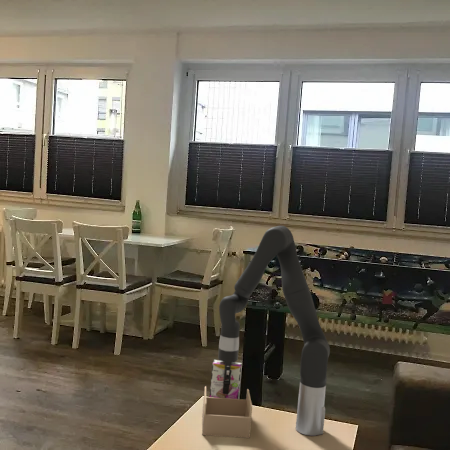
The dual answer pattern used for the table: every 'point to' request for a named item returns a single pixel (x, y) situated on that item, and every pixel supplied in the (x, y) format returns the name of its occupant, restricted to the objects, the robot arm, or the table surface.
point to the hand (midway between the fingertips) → (225, 390)
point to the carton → (226, 416)
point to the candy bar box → (217, 380)
